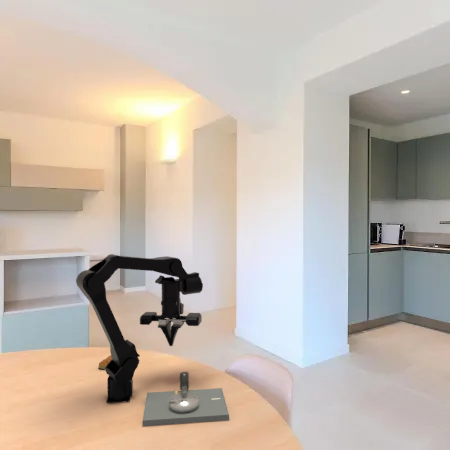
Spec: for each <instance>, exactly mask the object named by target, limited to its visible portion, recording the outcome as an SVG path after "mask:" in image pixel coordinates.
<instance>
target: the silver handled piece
mask: <svg viewBox="0 0 450 450" xmlns="http://www.w3.org/2000/svg"><path fill="white" fill-rule="evenodd" d="M189 377H190V375H189V371H181V372H179V391H181V393H179V394H176V395H173V396H172V397H170V399H169V408H170V409H171V410H172V411H174V412H178V413H186V412H191V411H193V410H195V409H197V408H198V406H199V398H198V396H196V395H195V394H191V393H187V390H190V389H189V388H190V386H189V385H190V383H189V381H190V379H189Z"/></svg>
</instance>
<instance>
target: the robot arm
mask: <svg viewBox="0 0 450 450" xmlns="http://www.w3.org/2000/svg"><path fill="white" fill-rule="evenodd" d="M119 269H122V270H134V271H135V270H136V271H147V272H149V271H150V272H156V273H158V274H159V273H160V274H163V275H159V277H158V278H157V279H155V281H154V282H155V284H158V285H161V301H160V306H161V315H160V314H158V312H156V311H146V312H144V313H143V314H142V315H140V317H139V325H142V326H143V325H147V326H149V325H151V324H152V322H158V325H157V328H159V329H160V330H161V331H162V333H163V335H164V336H165V338H166V340H167V343H168V346H169V347H173V346H174V342H175V339H176V336H177V333H178V331H179V329H181V328H182V327H183V325H185V324H186V325H187V326H188V327H199V326H200V324H201V323H202V320H203V318H202V317H203V316H202V314H201V312H188V314H187V315H183V314H184V307H185V305H184V303H182V301H181V294H182V295H184V296H187V295H192V294H193V295H194V294H200V293H201V292H202V291H203V288H204V284H203V281H202V278H201V277H200V273H199V272H191V273H188V272H187V271H186V270H185V269H184V267H183V263H182V261H181V259H180V258H178V257H172V256H167V255H166V256H158V257H154V258H153V257H152V258H149V257H147V258H146V257H140V256H139V257H138V256H127V255H119V254H118V255H117V254H113V253H111V254H108V255H107V256H106V257H105V258H103V259H101V260H100V261H98V262H97V263H95V264H93V266H91V267H90V268H89V269H85V270H82V271H81V272H80V273H78V275H77V277H76V279H75V283H76V286H77V287H78V288H79V290H80V291H81V292H82V294H83V296H85V298H86V299H87V300H88V302H89V303H90V304H91V305H92V307H93V310H94V312H95V315H96V317H97V319H98V321H99V324H100V325H101V328H102V330H103V333H105V336H106V339H107V341H108V343H109V347H110V356H111V357H112V360H111V361H110V362H109V363H108V364H107V366H106V367H105V369H104V370H105V373H106V374H107V397H106V401H105V402H106V403H107V404H112V403H114V404H115V403H128V402H130V401H131V398H132V397H133V394H134V379H133V377H134V374H135V371H136V370H137V369H138V367H139V364H140V359H139V357H140V354H139V353H138V351H137V348H136V345H135V343H133V342H131V341H130V340H129V339H125V338H124V335H123V333H122V331H121V328H120V326H119V324H118V322H117V320H116V317H115V316H114V313H113V311H112V308H111V306H110V304H109V302H108V300H107V289H106V284H105V283H106V282H107V281H108V280H110V279H111V277H112V276H113V275H114V274H115V272H116V271H118V270H119ZM164 275H167V277H165V276H164ZM174 277H176V278H174Z"/></svg>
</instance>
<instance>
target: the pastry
mask: <svg viewBox="0 0 450 450" xmlns="http://www.w3.org/2000/svg"><path fill="white" fill-rule="evenodd" d="M111 360H112V357H111V355H109V356H107V357H106V358H104V359H102V360H101V361H99V363H98V368H99V369H101V370H105V367H106V366H107V364H108V363H109V362H110V361H111Z"/></svg>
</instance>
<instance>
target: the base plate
mask: <svg viewBox="0 0 450 450" xmlns="http://www.w3.org/2000/svg"><path fill="white" fill-rule="evenodd" d="M179 393H181V390H167V391H151V392H146V397H145V403H144V410H143V414H142V415H143V416H142V427H157V426H168V425H169V426H171V425H182V424H183V425H184V424H185V425H186V424H195V423H199V424H200V423H208V422H209V423H210V422H211V423H212V422H225V421H226V422H227V421H230V413H229V410H228V406H227V403H226V399H225V398H226V397H225V395H224V391H223V388H222V387H219V388H218V387H215V388H203V389H202V388H199V389H188V390H187V393H191V394H195V395H196V396H198V398H199V406H198V408H197V409H195V410H193V411H191V412H186V413H178V412H174V411H172V410H171V409H170V408H169V399H170V397H172V396H173V395H176V394H179Z"/></svg>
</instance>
